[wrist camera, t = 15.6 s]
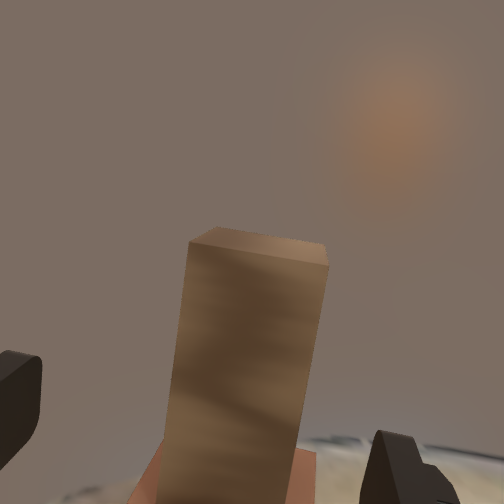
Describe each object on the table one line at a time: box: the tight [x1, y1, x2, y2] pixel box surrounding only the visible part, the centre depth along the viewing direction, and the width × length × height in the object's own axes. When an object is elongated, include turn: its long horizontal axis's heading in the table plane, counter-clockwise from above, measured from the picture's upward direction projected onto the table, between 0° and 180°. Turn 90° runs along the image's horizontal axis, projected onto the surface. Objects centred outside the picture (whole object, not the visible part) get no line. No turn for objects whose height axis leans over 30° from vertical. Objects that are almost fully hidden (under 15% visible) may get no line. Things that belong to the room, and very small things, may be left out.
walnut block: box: [155, 227, 329, 504], centre depth 18 cm, size 5×5×10 cm
